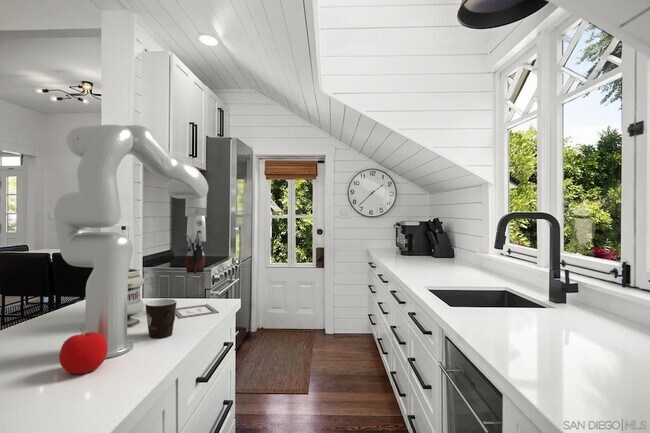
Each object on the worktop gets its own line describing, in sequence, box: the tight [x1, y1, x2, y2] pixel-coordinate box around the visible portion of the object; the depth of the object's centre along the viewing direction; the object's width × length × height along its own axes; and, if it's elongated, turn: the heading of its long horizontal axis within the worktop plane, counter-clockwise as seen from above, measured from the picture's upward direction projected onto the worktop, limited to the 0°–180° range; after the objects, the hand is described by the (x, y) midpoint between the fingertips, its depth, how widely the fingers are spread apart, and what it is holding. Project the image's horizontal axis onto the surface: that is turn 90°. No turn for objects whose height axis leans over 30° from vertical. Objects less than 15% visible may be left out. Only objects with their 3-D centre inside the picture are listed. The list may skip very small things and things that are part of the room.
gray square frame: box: [175, 303, 220, 319], centre depth 134 cm, size 14×14×1 cm
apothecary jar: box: [127, 267, 145, 328], centre depth 117 cm, size 12×12×18 cm
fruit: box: [58, 326, 108, 375], centre depth 82 cm, size 9×9×10 cm
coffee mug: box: [144, 298, 178, 340], centre depth 105 cm, size 12×9×10 cm
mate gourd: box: [184, 232, 206, 274], centre depth 133 cm, size 8×8×15 cm
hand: (194, 259), depth 133 cm, fingers closed on mate gourd, 7 cm apart
